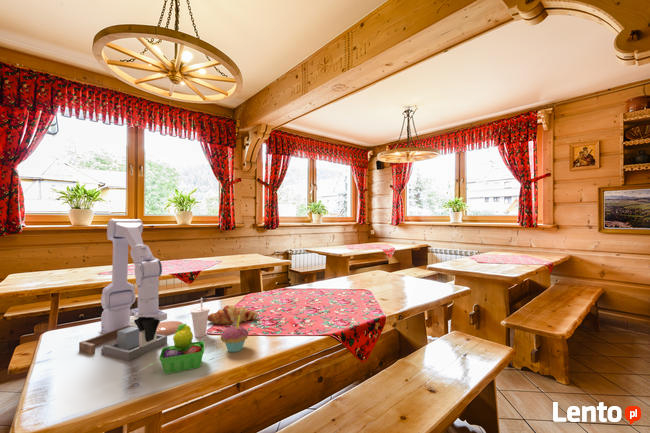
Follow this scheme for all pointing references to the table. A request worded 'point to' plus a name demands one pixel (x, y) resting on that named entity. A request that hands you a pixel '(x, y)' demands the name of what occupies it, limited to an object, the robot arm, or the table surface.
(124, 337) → the grey block
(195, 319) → the smoothie
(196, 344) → the fruit basket
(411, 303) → the table surface
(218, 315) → the croissant
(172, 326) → the plate
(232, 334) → the cupcake
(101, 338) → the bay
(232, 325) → the figurine
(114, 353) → the grey square tray
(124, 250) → the robot arm
